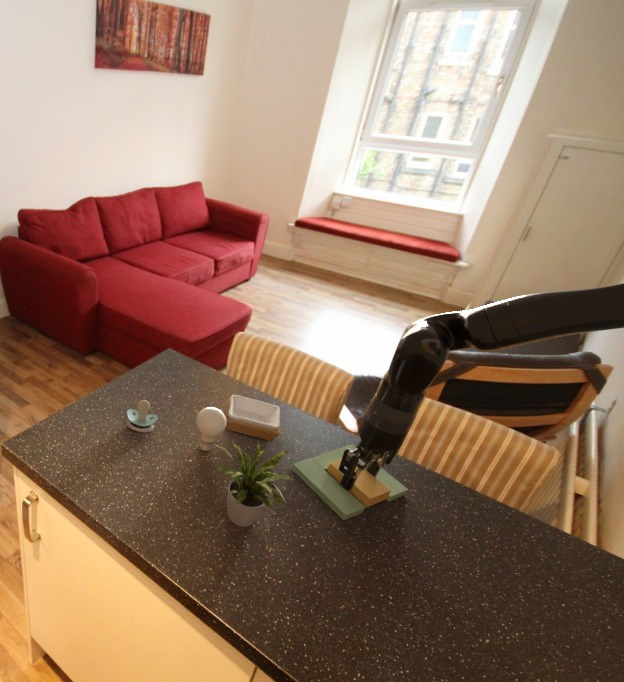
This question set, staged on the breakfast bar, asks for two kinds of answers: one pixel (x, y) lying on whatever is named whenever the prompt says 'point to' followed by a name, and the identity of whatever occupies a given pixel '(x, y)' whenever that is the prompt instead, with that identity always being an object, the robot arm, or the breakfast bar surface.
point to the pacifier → (141, 417)
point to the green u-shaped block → (332, 491)
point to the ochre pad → (362, 485)
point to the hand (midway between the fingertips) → (356, 482)
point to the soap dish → (252, 417)
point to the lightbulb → (210, 426)
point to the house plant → (251, 486)
